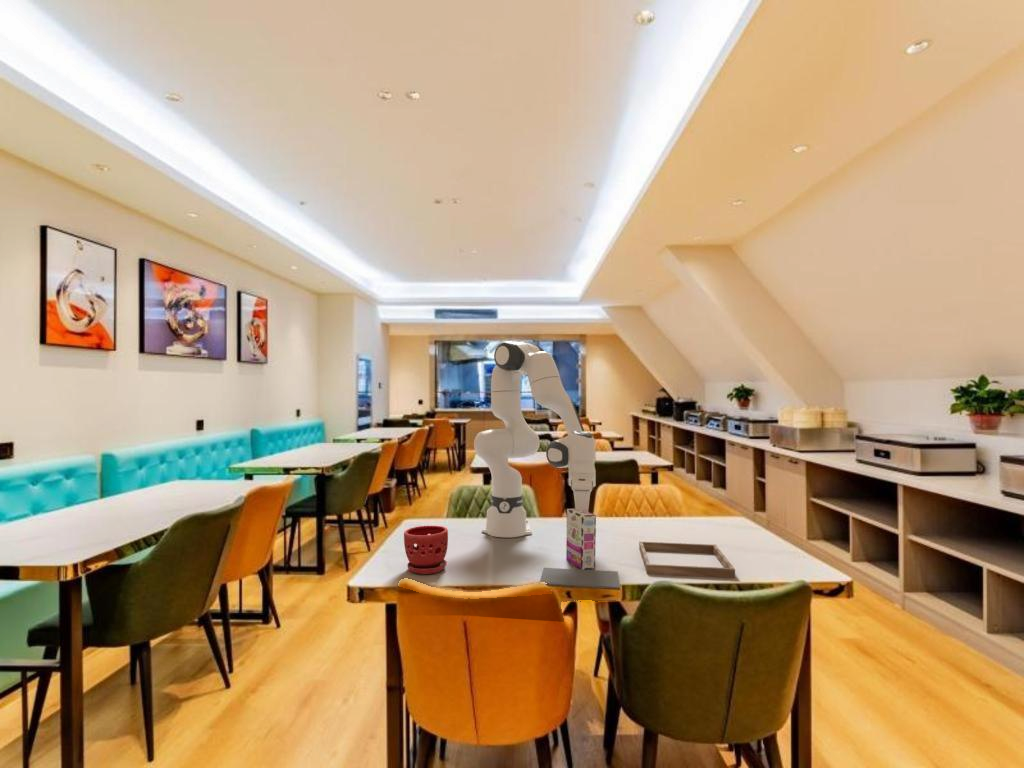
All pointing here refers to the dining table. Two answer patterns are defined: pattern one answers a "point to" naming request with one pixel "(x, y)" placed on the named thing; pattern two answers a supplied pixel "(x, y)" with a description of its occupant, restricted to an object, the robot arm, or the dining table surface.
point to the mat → (581, 578)
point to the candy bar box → (581, 539)
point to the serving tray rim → (686, 570)
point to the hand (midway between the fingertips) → (582, 522)
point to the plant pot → (426, 548)
